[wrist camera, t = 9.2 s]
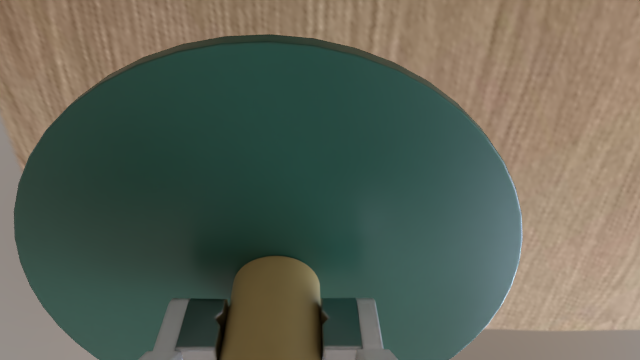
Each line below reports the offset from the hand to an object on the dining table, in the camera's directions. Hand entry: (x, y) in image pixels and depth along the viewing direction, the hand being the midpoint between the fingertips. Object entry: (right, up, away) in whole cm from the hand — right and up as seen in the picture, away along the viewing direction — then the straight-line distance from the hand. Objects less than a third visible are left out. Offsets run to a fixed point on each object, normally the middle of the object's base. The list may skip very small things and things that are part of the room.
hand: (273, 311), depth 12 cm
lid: (0, +1, +1) cm, 2 cm away
